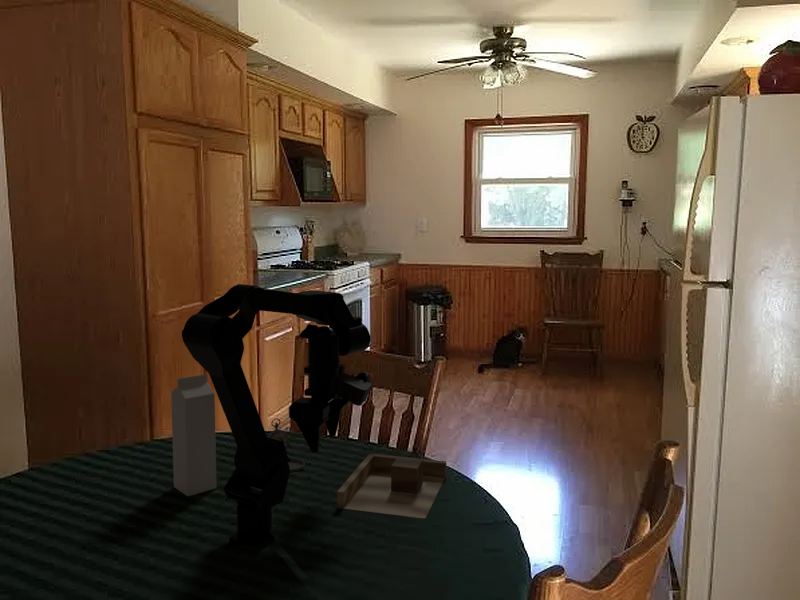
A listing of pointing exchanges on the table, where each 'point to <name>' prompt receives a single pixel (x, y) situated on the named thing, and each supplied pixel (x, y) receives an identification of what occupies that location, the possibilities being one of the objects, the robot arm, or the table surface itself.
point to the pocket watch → (281, 435)
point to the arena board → (389, 488)
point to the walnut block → (407, 475)
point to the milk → (193, 435)
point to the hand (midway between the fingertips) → (324, 443)
